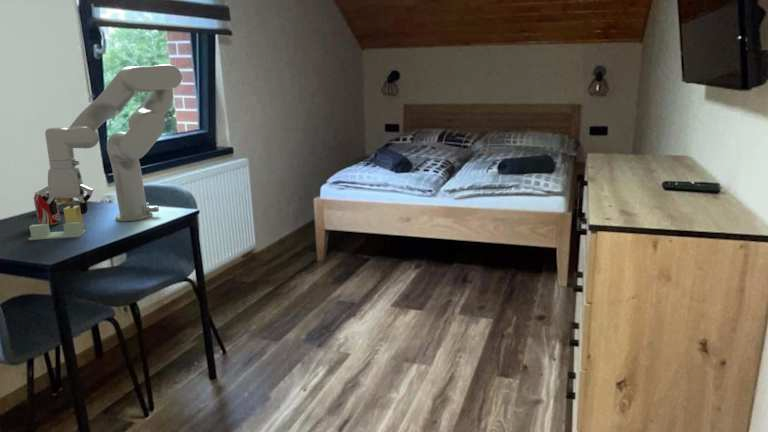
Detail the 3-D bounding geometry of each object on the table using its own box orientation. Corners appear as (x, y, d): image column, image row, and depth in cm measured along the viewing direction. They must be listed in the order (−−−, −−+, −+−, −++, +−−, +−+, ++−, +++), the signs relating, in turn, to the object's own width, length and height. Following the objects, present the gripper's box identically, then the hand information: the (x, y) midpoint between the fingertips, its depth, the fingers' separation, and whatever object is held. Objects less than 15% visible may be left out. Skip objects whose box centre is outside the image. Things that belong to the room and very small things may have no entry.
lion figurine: (40, 213, 222) (35, 190, 219) (47, 209, 227) (42, 187, 224) (78, 210, 223) (74, 188, 220) (84, 207, 228) (80, 185, 225)
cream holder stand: (86, 231, 193) (84, 220, 192) (79, 236, 187) (76, 225, 186) (37, 234, 192) (35, 223, 190) (28, 240, 186) (26, 228, 185)
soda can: (51, 226, 201) (44, 194, 198) (34, 226, 202) (27, 194, 199) (65, 221, 207) (59, 189, 204) (49, 221, 209) (42, 189, 206)
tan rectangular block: (84, 227, 198) (79, 201, 196) (79, 230, 195) (74, 203, 192) (72, 228, 198) (67, 201, 196) (67, 231, 194) (62, 204, 192)
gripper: (93, 162, 195) (99, 210, 199) (40, 163, 193) (48, 212, 197) (84, 165, 187) (91, 215, 191) (29, 166, 186) (37, 217, 190)
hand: (69, 213), depth 194 cm, fingers open, 9 cm apart
